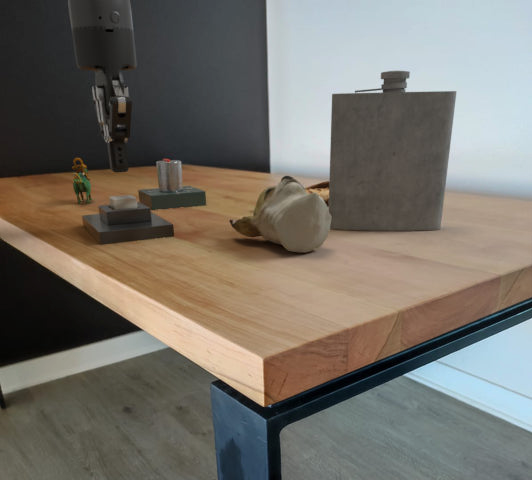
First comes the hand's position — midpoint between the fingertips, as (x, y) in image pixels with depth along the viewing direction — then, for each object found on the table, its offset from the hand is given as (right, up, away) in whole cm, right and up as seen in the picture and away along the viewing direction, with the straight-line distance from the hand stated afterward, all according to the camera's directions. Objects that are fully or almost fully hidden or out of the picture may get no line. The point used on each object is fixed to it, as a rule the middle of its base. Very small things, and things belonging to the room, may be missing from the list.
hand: (119, 171), depth 75 cm
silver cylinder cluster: (+3, +5, +24) cm, 24 cm away
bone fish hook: (+28, +1, +22) cm, 35 cm away
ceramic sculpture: (+23, -12, -6) cm, 26 cm away
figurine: (-14, +3, +28) cm, 32 cm away
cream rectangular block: (0, -5, +2) cm, 5 cm away
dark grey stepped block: (0, -8, +3) cm, 8 cm away
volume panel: (+3, +2, +25) cm, 25 cm away
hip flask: (+37, -7, +2) cm, 38 cm away
